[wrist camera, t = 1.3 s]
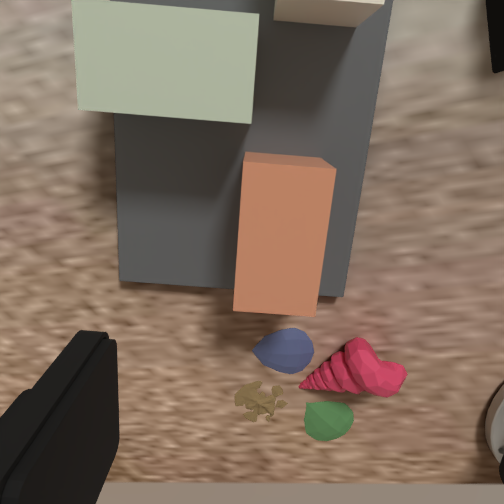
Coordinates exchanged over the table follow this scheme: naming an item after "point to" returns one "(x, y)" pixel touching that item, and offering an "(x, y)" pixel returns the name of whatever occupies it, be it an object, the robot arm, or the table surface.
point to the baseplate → (249, 150)
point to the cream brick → (326, 11)
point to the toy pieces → (321, 380)
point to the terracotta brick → (282, 233)
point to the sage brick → (165, 60)
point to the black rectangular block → (496, 33)
